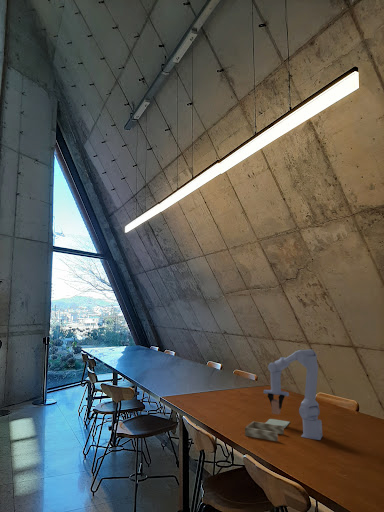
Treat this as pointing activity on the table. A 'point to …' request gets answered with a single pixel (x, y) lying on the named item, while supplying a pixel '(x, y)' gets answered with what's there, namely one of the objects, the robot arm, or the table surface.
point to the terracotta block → (275, 407)
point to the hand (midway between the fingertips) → (276, 407)
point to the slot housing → (264, 430)
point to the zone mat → (278, 422)
